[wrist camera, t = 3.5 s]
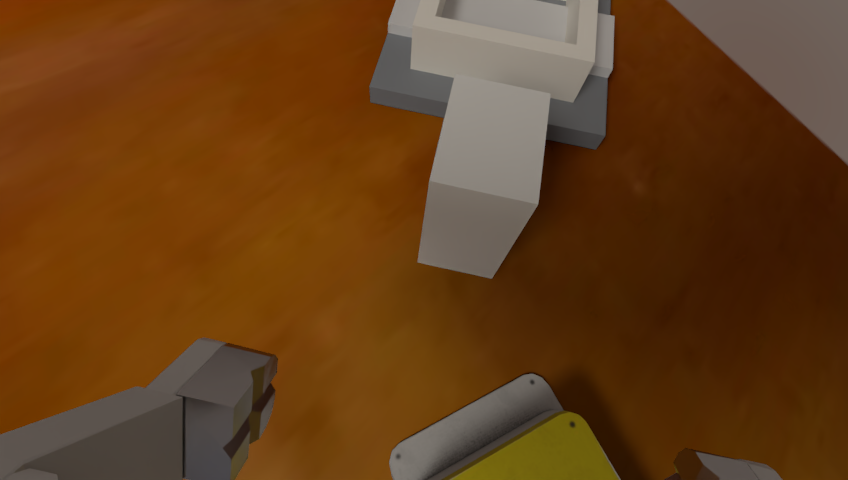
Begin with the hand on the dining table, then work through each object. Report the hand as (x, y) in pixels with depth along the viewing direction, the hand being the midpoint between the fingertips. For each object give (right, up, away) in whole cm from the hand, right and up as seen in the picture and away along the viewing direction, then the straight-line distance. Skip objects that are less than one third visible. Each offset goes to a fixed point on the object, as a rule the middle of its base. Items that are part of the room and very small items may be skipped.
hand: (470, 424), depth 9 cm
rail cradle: (+5, +19, +25) cm, 32 cm away
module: (+2, +4, +18) cm, 19 cm away
